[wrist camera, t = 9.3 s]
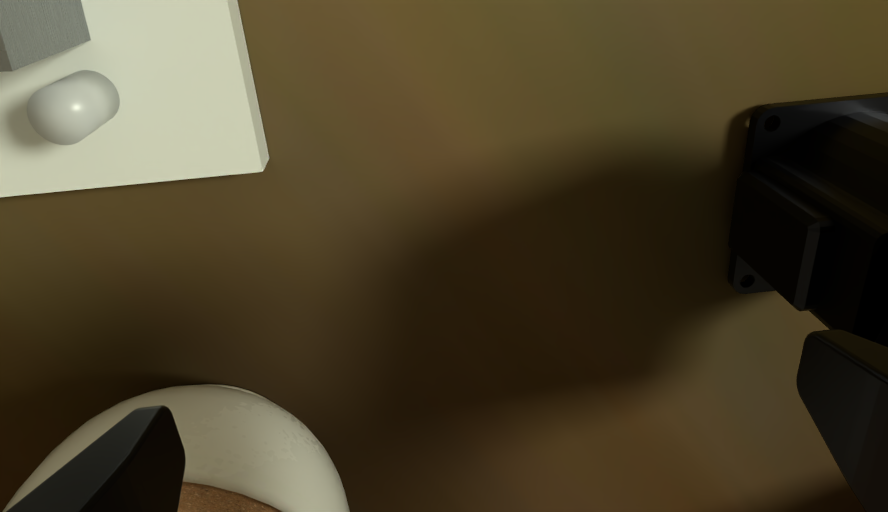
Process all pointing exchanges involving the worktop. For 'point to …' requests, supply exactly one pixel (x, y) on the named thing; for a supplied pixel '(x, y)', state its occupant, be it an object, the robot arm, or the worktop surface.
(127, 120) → the white peg board
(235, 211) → the worktop surface
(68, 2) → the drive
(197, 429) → the lidded jar
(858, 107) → the robot arm
